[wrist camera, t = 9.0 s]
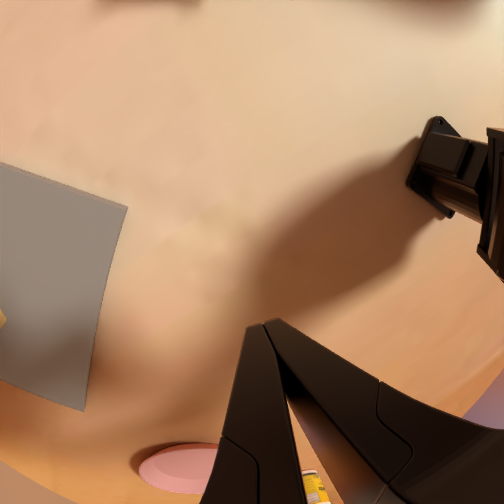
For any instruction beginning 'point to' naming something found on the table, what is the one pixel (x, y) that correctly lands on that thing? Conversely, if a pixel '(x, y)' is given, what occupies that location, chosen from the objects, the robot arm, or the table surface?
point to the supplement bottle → (314, 488)
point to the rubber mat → (52, 282)
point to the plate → (180, 468)
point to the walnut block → (2, 319)
